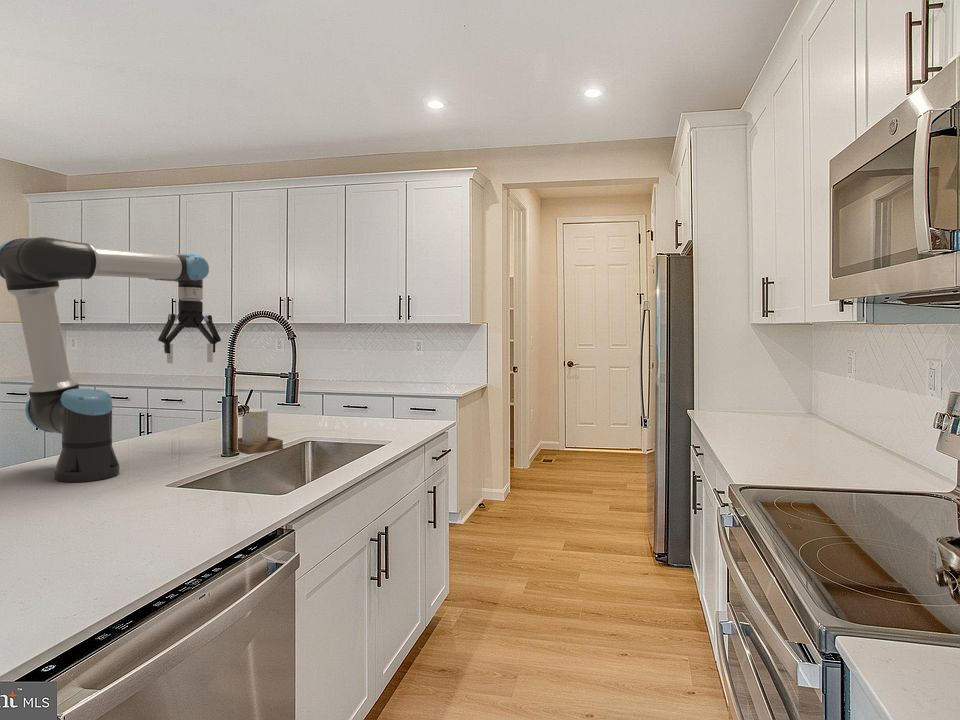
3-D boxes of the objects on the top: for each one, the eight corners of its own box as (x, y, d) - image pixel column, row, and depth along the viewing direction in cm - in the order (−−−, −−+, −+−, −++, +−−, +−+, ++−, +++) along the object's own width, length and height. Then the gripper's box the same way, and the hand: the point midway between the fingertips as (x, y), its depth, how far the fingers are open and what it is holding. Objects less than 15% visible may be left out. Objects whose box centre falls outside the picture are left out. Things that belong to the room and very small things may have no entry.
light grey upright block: (251, 448, 206) (251, 412, 206) (237, 445, 211) (237, 410, 211) (272, 445, 213) (272, 410, 212) (258, 441, 218) (258, 407, 217)
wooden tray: (247, 454, 203) (247, 444, 203) (227, 448, 211) (227, 439, 211) (282, 448, 213) (282, 440, 213) (262, 443, 221) (262, 435, 221)
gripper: (156, 298, 199) (156, 364, 200) (231, 302, 217) (230, 362, 219) (147, 298, 203) (147, 363, 205) (220, 302, 222) (220, 361, 223)
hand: (190, 362), depth 212 cm, fingers open, 13 cm apart
